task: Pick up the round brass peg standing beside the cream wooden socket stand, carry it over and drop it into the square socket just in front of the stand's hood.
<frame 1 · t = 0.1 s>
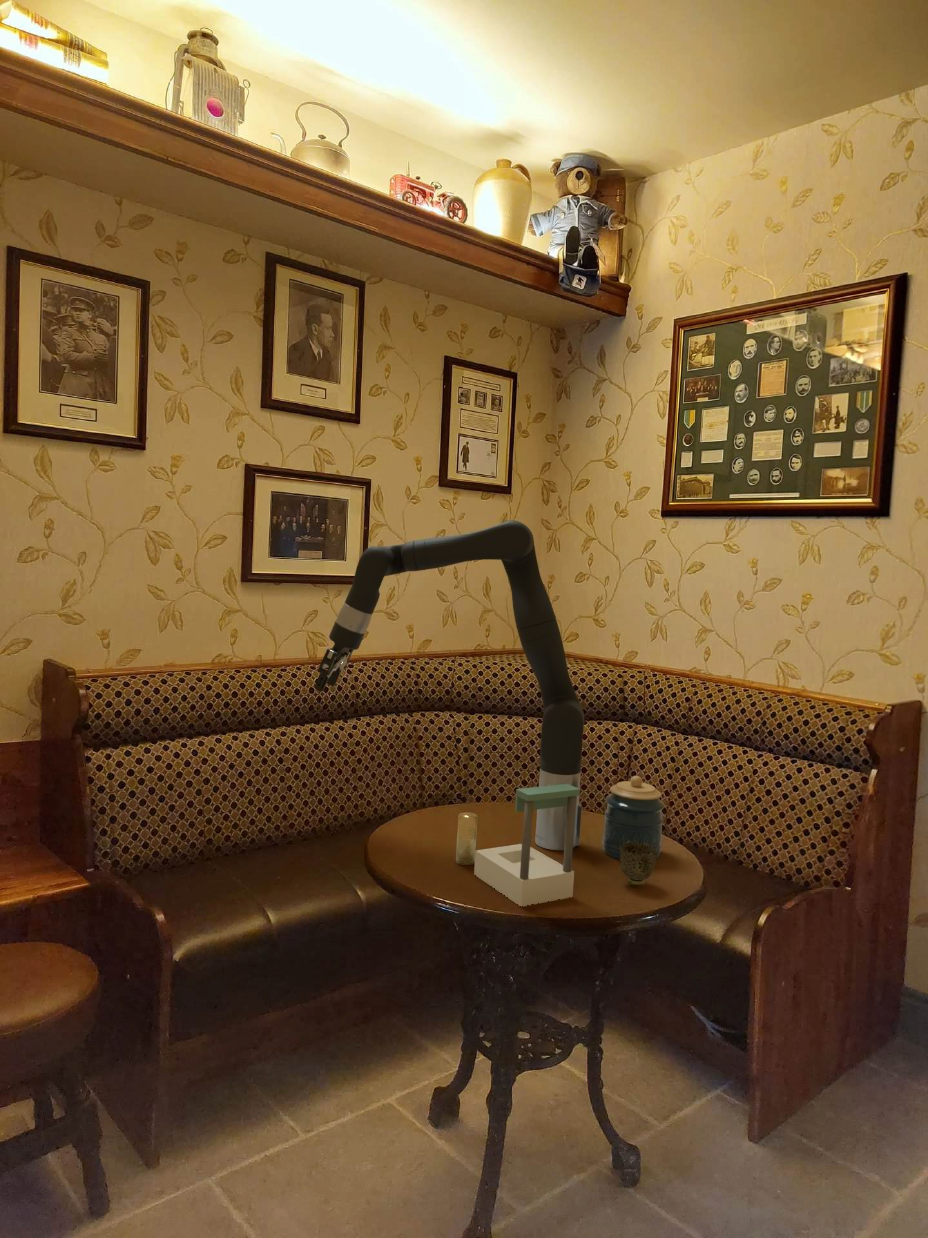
hand: (324, 687, 199), 31 cm above the table, tool tilted 20°, fingers open, 8 cm apart
cup: (635, 886, 170), on the table
canister: (630, 854, 189), on the table
brass peg: (465, 861, 178), on the table
socket stand: (520, 884, 167), on the table
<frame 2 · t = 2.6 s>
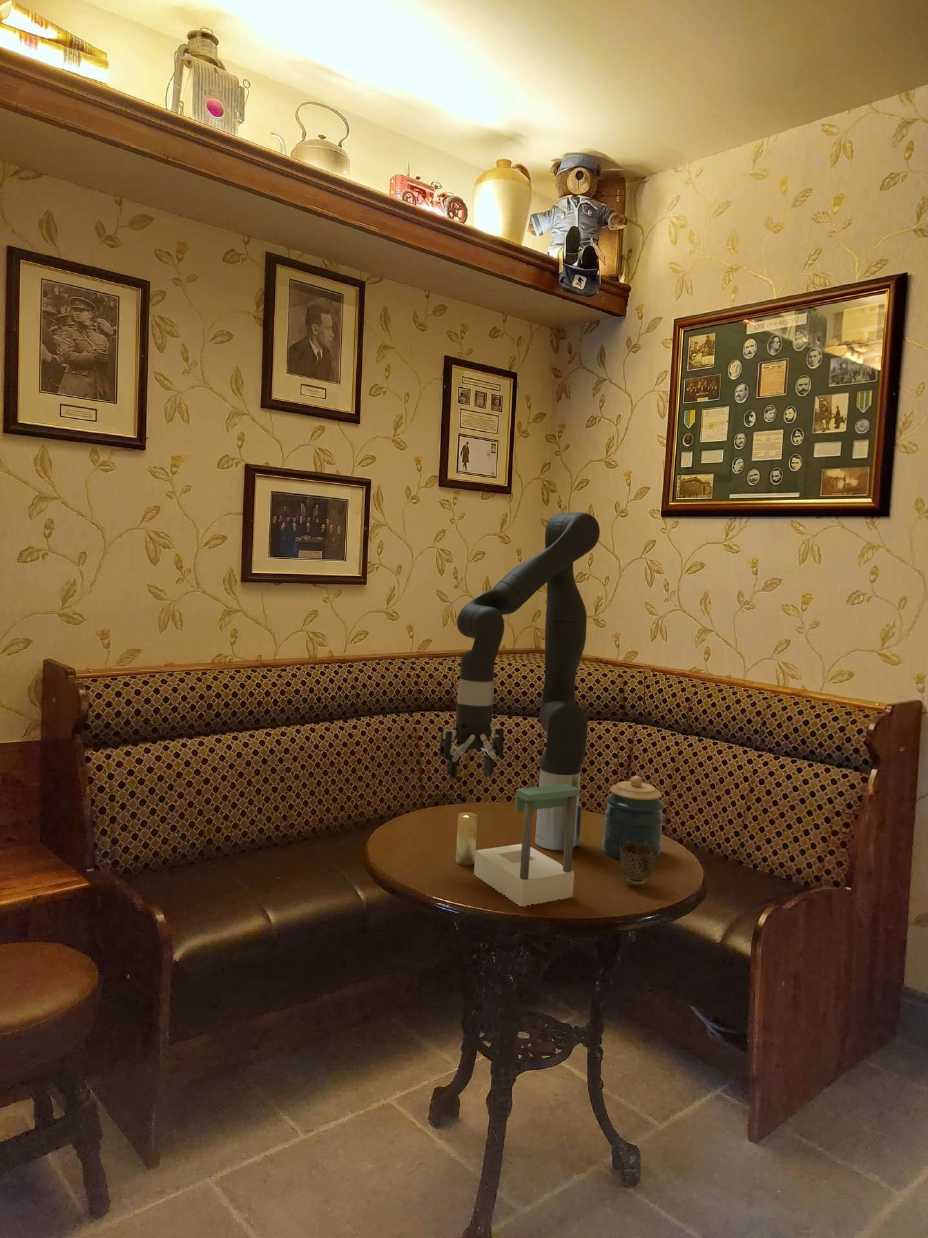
hand: (470, 777, 176), 18 cm above the table, tool pointing down, fingers open, 8 cm apart
nothing on the table moved.
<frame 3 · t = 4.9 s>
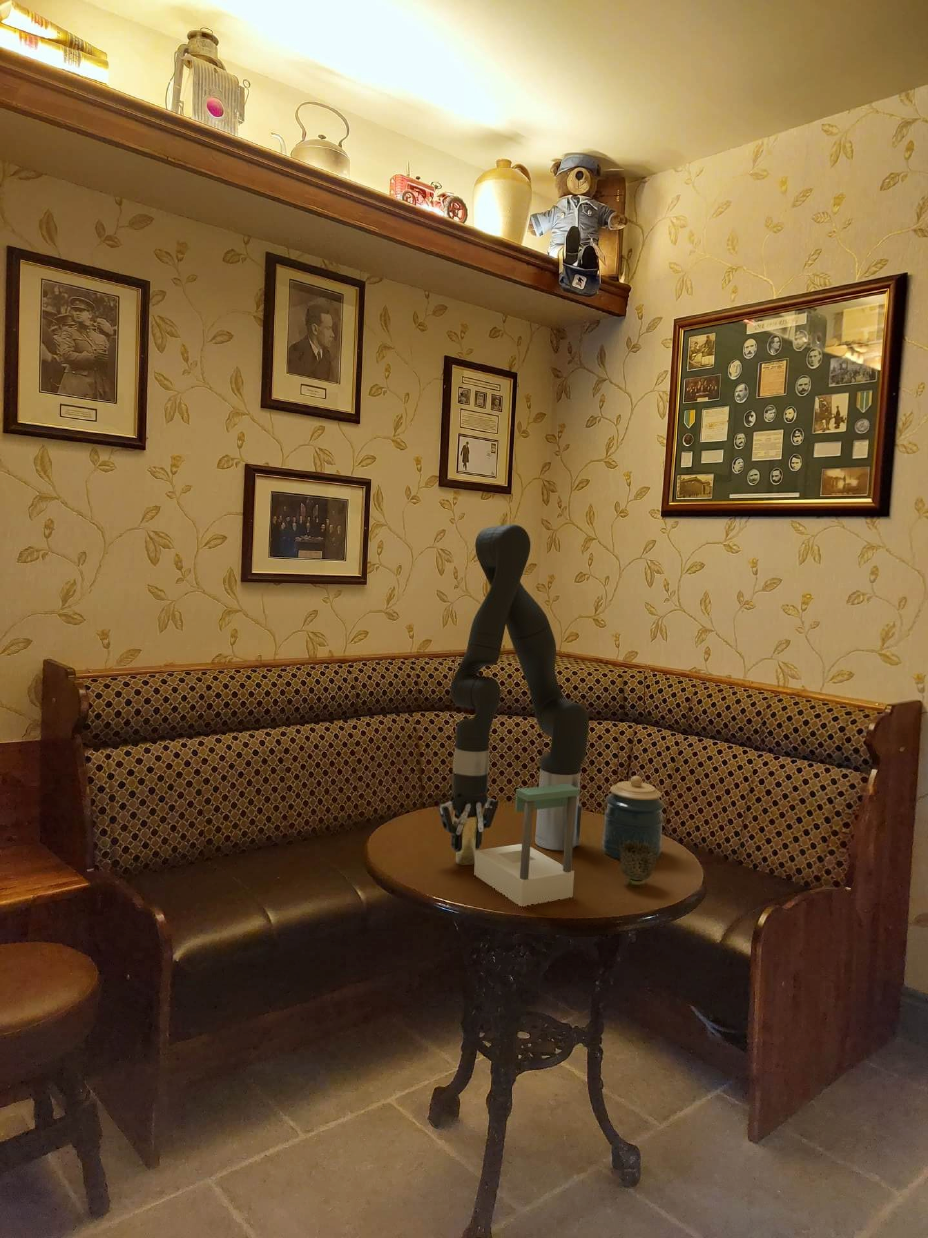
hand: (465, 849, 177), 3 cm above the table, tool pointing down, fingers closed on brass peg, 4 cm apart
brass peg: (465, 861, 178), on the table, touching gripper
everything else where it was.
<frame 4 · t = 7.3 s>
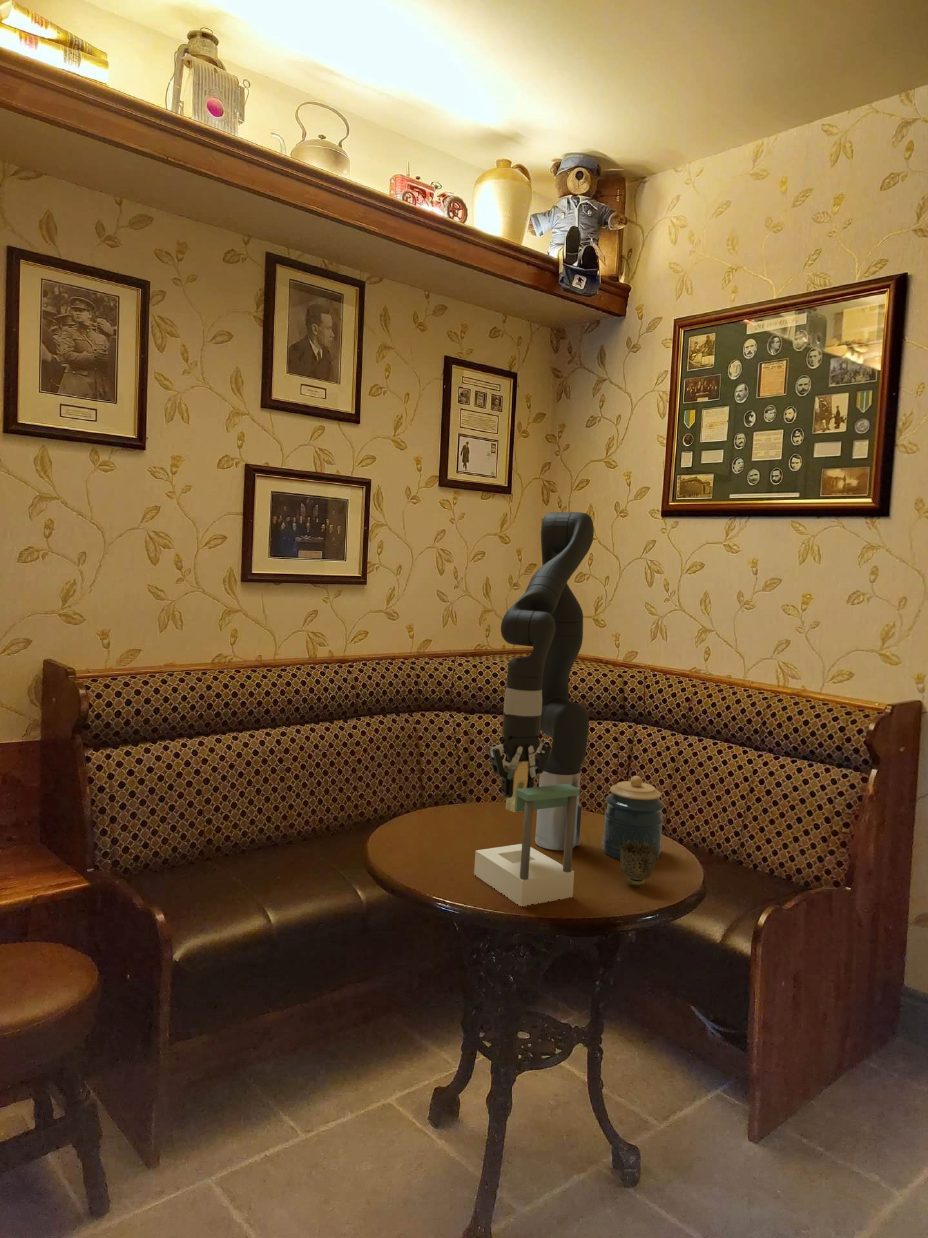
hand: (516, 795, 168), 17 cm above the table, tool pointing down, fingers closed on brass peg, 4 cm apart
brass peg: (515, 809, 168), point 15 cm above the table, touching gripper
everything else where it was.
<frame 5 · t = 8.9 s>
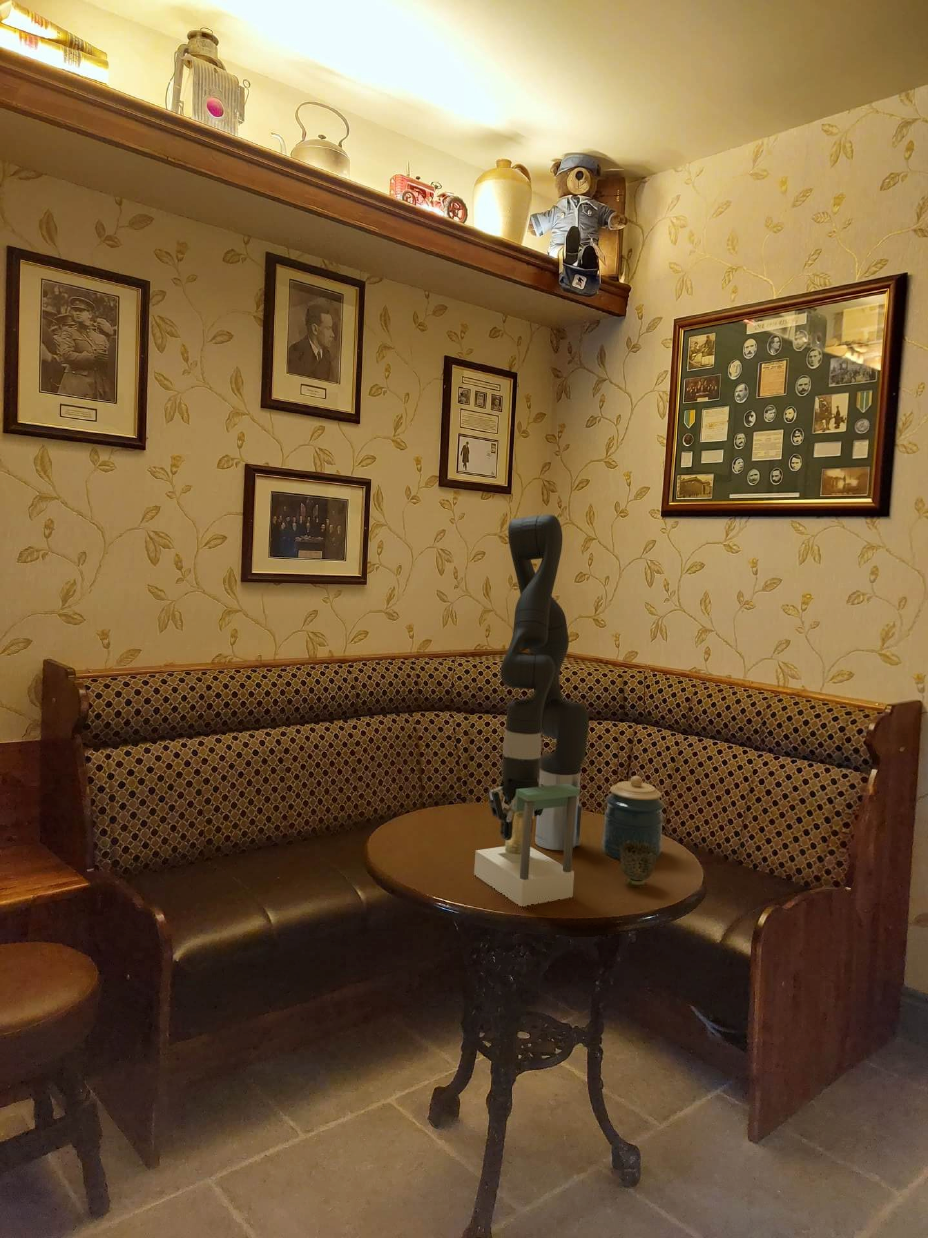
hand: (515, 837, 168), 9 cm above the table, tool pointing down, fingers closed on brass peg, 4 cm apart
brass peg: (514, 850, 168), point 6 cm above the table, touching gripper
everything else where it was.
when the fingers open (6 cm above the table, at t = 9.8 s): brass peg drops 2 cm, resting on socket stand.
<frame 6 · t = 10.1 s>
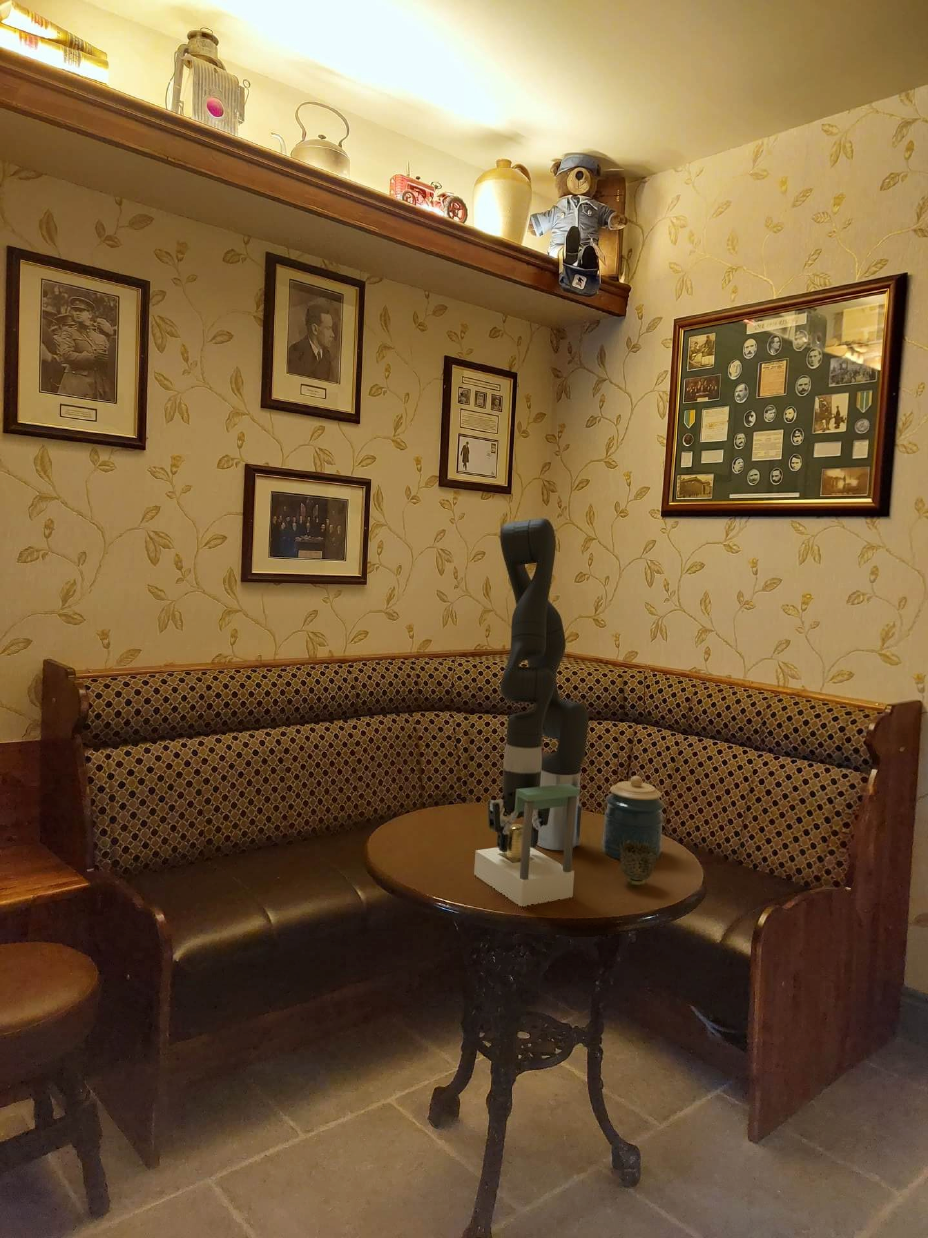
hand: (517, 848, 168), 7 cm above the table, tool pointing down, fingers open, 6 cm apart
brass peg: (514, 876, 168), point 1 cm above the table, touching socket stand
everything else where it was.
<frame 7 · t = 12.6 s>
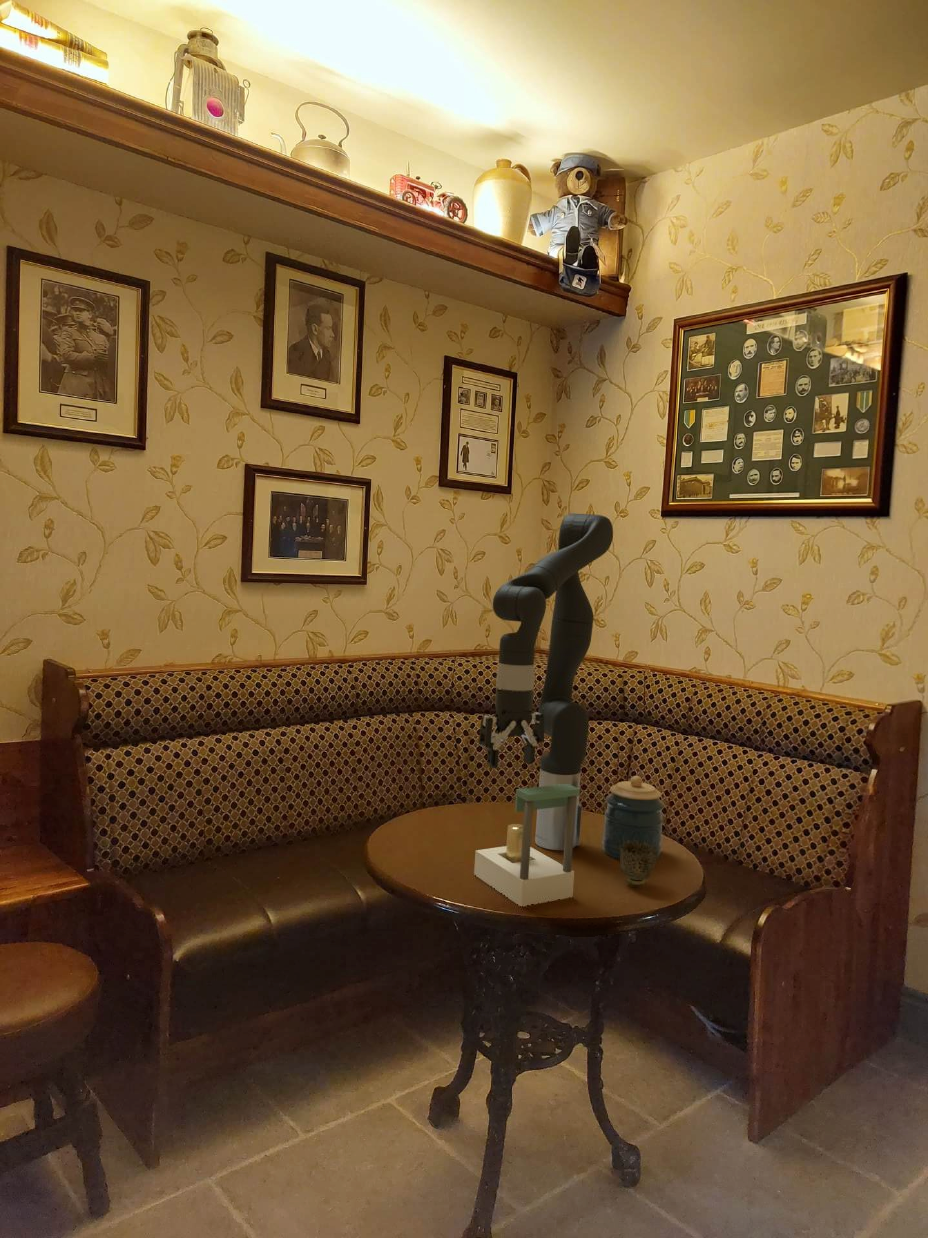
hand: (510, 765, 169), 23 cm above the table, tool pointing down, fingers open, 8 cm apart
nothing on the table moved.
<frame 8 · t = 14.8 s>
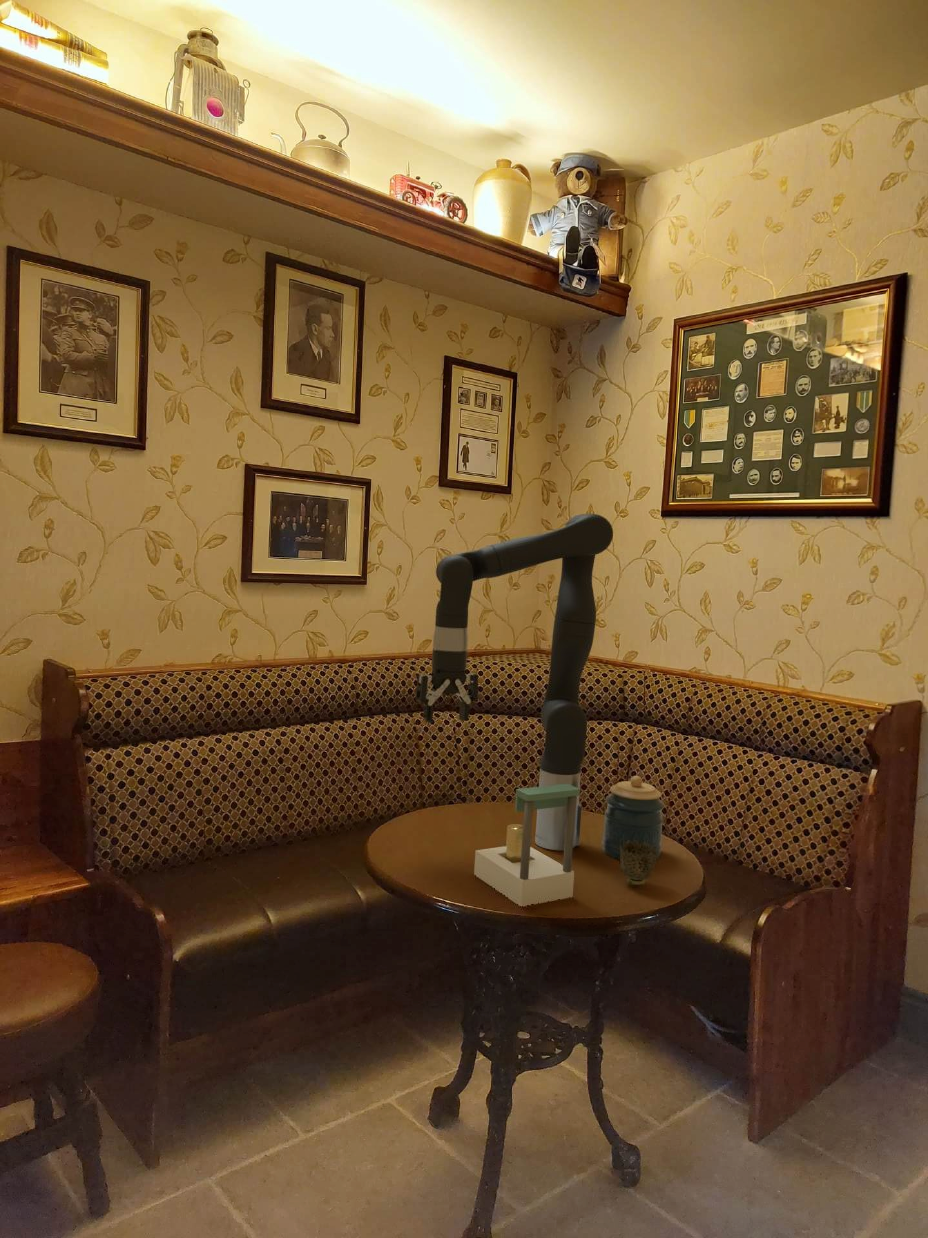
hand: (445, 721, 184), 28 cm above the table, tool pointing down, fingers open, 8 cm apart
nothing on the table moved.
at the end: brass peg 0.1 cm from the target spot on the socket stand, point 1.0 cm above the socket stand's base; brass peg tilted 1°; the gripper is holding nothing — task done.
